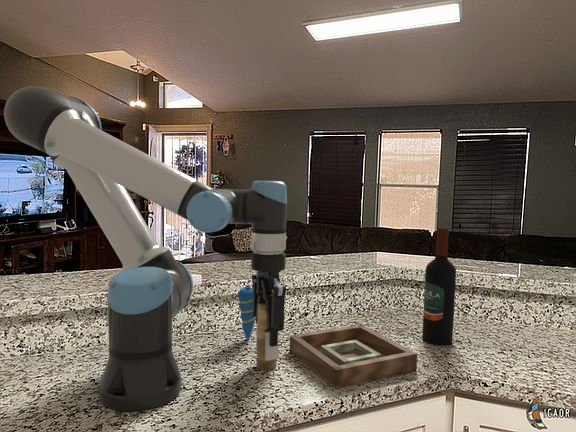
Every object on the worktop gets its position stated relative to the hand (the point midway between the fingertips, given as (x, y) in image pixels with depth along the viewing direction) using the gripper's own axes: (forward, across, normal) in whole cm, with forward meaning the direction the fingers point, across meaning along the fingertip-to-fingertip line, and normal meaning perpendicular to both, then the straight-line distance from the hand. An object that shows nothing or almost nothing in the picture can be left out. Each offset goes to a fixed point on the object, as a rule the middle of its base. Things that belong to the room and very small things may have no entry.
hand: (266, 354), depth 100 cm
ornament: (+3, +17, -2) cm, 17 cm away
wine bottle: (+3, -3, -48) cm, 48 cm away
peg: (+3, 0, 0) cm, 3 cm away
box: (+3, -5, -19) cm, 20 cm away
